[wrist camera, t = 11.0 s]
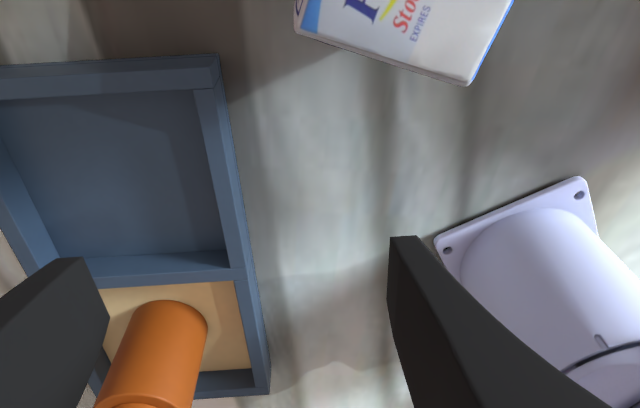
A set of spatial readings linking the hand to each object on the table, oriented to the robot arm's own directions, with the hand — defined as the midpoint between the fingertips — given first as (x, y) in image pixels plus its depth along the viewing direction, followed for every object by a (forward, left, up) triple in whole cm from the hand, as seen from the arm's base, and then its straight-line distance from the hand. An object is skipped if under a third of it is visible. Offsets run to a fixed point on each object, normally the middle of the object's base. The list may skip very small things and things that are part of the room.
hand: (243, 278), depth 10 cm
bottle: (-8, +12, -10) cm, 17 cm away
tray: (-4, +10, -10) cm, 15 cm away
